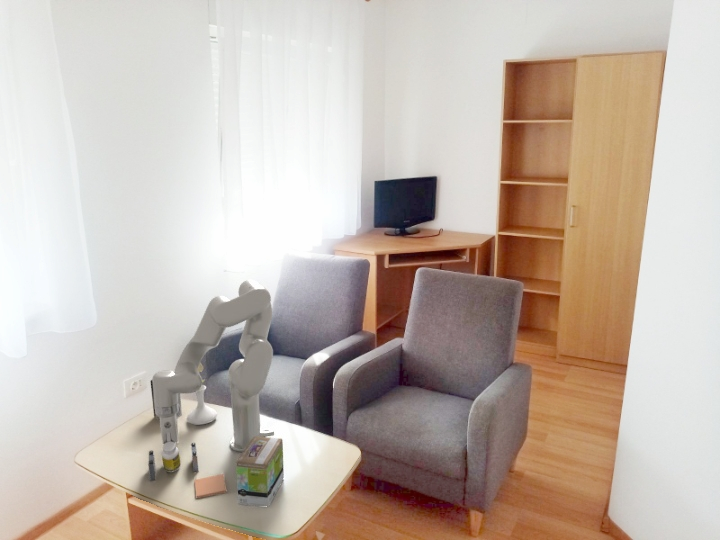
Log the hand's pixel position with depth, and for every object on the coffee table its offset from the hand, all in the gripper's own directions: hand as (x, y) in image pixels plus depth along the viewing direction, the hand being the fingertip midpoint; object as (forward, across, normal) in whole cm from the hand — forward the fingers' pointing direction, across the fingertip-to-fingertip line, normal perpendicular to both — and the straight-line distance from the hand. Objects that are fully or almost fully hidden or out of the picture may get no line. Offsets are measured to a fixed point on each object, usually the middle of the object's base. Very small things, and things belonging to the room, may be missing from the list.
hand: (170, 457), depth 185 cm
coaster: (+2, -18, -12) cm, 22 cm away
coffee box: (+2, +35, +1) cm, 35 cm away
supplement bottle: (+1, -4, 0) cm, 4 cm away
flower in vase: (+2, +28, -11) cm, 30 cm away
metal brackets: (+2, -5, -1) cm, 5 cm away
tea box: (+2, -26, -27) cm, 38 cm away
